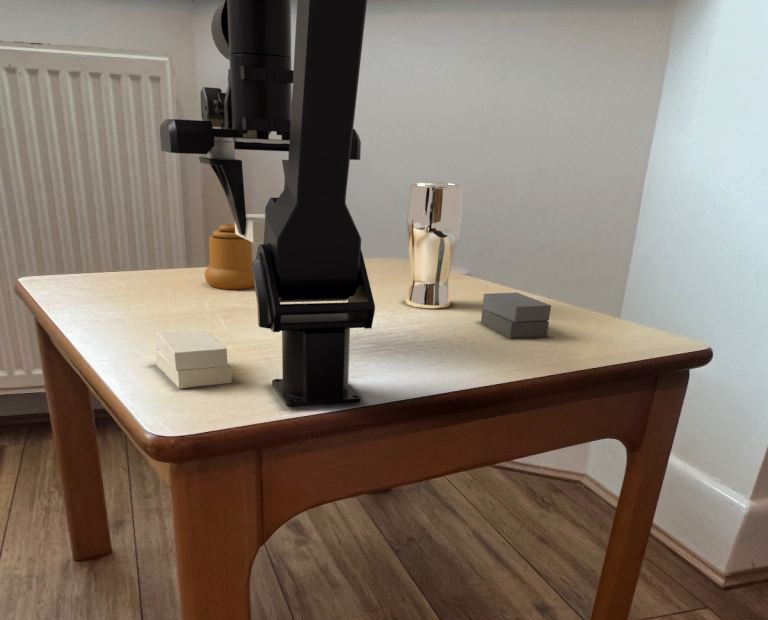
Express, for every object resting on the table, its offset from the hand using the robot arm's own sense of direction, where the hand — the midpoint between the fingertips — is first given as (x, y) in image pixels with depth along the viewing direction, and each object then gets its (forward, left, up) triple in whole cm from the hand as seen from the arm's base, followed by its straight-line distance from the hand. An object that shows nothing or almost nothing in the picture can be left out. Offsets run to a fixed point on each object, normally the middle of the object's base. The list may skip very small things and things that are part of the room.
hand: (265, 234), depth 76 cm
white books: (-12, +9, -11) cm, 18 cm away
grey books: (-1, -30, -11) cm, 32 cm away
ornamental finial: (+29, -1, -11) cm, 31 cm away
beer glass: (+14, -25, -11) cm, 31 cm away
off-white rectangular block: (0, 0, 0) cm, 0 cm away
